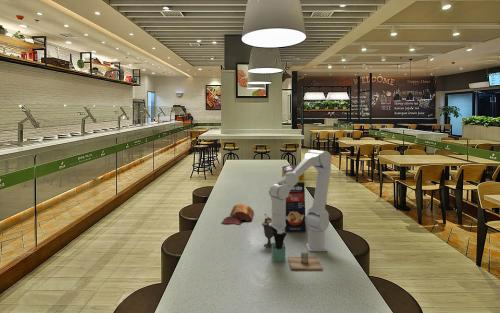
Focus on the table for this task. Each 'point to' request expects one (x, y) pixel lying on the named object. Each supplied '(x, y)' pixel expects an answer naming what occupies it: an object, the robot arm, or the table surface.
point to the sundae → (268, 231)
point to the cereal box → (295, 204)
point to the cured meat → (239, 215)
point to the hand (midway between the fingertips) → (278, 245)
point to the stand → (304, 263)
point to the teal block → (278, 253)
